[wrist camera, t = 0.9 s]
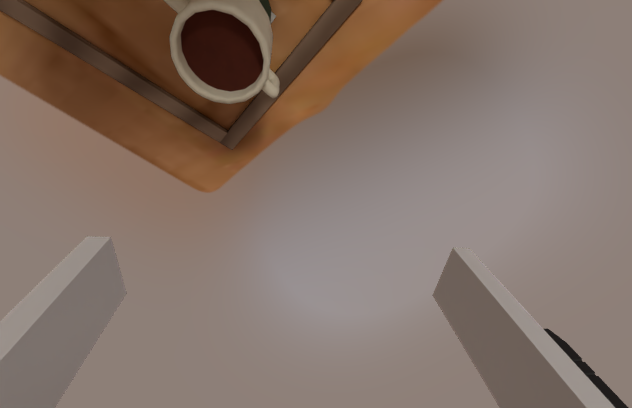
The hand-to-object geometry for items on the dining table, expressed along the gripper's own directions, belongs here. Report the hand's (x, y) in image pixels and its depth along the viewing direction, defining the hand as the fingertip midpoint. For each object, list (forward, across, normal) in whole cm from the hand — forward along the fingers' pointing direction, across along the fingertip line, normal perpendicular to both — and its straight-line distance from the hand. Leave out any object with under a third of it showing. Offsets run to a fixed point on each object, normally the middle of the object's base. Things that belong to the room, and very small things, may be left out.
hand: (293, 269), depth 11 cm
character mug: (+28, -5, +10) cm, 30 cm away
